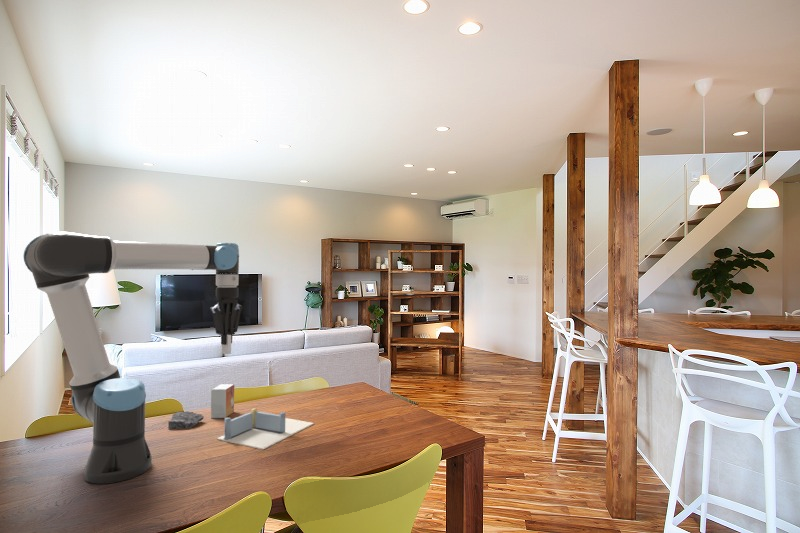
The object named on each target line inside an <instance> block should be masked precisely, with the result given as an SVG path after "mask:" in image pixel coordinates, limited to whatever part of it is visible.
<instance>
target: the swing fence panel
mask: <svg viewBox="0 0 800 533" xmlns="http://www.w3.org/2000/svg"><path fill="white" fill-rule="evenodd" d="M251 413H252V427H257V428H262V429H267V430H273V431H278V432H285V418H286V412H284V411H283V412H280V413H279V414H276V413H270V412H263V411H258V410H257V408H256V407H255V408H251Z"/></svg>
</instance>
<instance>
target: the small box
mask: <svg viewBox="0 0 800 533" xmlns="http://www.w3.org/2000/svg"><path fill="white" fill-rule="evenodd" d="M210 393H211V395H210V419H225V418H228V417H229V416H230V415H231V414H233V413H234V412H235V384H233V383H232V384H230V383H229V384H226V383H223V384H221V383H220V384H218V385H217V386H216V387H214V388H212V389H211V390H210Z"/></svg>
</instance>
